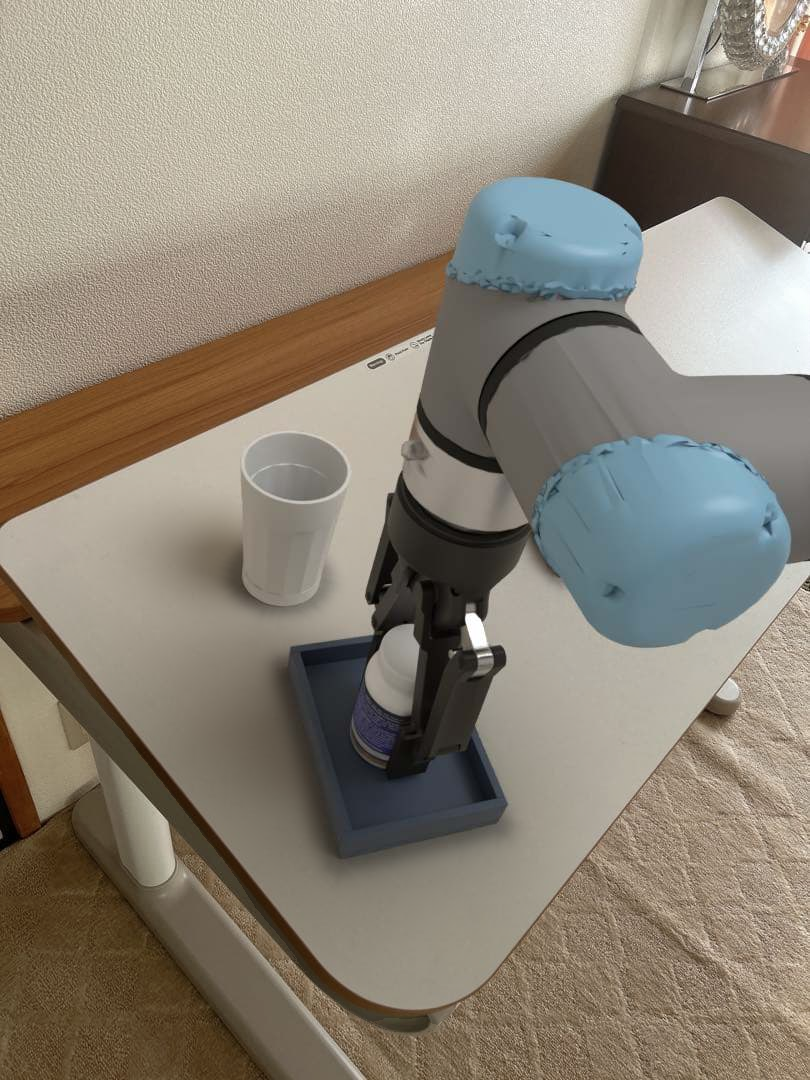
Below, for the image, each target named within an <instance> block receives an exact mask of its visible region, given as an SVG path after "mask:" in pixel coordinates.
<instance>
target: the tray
mask: <svg viewBox="0 0 810 1080" xmlns="http://www.w3.org/2000/svg"><path fill="white" fill-rule="evenodd" d="M373 635H374V634H369V635H361V636H354V637H348V638H347V637H346V638H340V639H333V640H326V641H319V642H312V643H311V642H310V643H306V644H298V645H291V646H290V647H289V653H288V659H287V664H286V665H287V666H286V669H287V673H288V676H289V679H290V683H291V687H292V690H293V694H294V697H295V701H296V705H297V709H298V712H299V715H300V716H299V717H300V720H301V723H302V727H303V730H304V734H305V737H306V740H307V744H308V748H309V752H310V755H311V759H312V762H313V765H314V769H315V773H316V776H317V781H318V784H319V787H320V791H321V794H322V798H323V801H324V805H325V808H326V812H327V816H328V819H329V822H330V826H331V830H332V833H333V836H334V840H335V844H336V848H337V851H338V855H339V858H340V859H341V860H342V859H347V858H351V857H356V856H359V855H364V854H368V853H373V852H377V851H381V850H386V849H390V848H395V847H399V846H403V845H408V844H412V843H415V842H420V841H425V840H428V839H433V838H438V837H442V836H446V835H450V834H455V833H459V832H463V831H468V830H471V829H476V828H480V827H485V826H489V825H493V824H497V823H499V821H500V820H501V818H502V816H503V814H504V813H505V811H506V809H507V807H508V805H509V803H508V801H507V798H506V796H505V793H504V791H503V788H502V787H501V783H500V782H499V779H498V777H497V775H496V772H495V770H494V767H493V765H492V763H491V760H490V758H489V755H488V753H487V751H486V748H485V746H484V744H483V742H482V739H481V737H480V735H479V732H478V730H477V728H476V726H475V727H474V730H473V732H472V735H471V738H470V740H469V743H468V746H467V748H466V750H465V751H461V752H456V753H451V754H446V755H441V756H436V757H435V759H434V760H432V761H430V763H429V765H428V768H427V770H426V773H421V774H416V775H411V776H406V777H401V778H397V779H392V780H388V778H387V775H386V772H385V769H383V768H380V767H377V766H374V765H372V764H370V763H369V762H367V761H366V760H365V759H364V758H362V757H361V756H360V755H359V753H358V752H357V751H356V749H355V747H354V745H353V743H352V741H351V736H350V724H351V720H352V716H353V712H354V709H355V705H356V702H357V699H358V695H359V692H358V691H359V688H360V684H361V680H362V676H363V673H364V669H365V665H366V661H367V657H368V654H369V650H370V646H371V642H372V638H373Z"/></svg>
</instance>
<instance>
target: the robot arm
mask: <svg viewBox="0 0 810 1080" xmlns="http://www.w3.org/2000/svg"><path fill="white" fill-rule="evenodd" d="M643 256H644V243H643V233H642V229H641V227H640V226H639V224H638V222H637V221H636V219H634V217H633V216H632V215H631V214H630V213H629V212H628V211H627V210H626V209H625V208H623V207H622V206H621V205H620V204H619V203H616V202H615V201H613V200H612V199H610V198H608V197H606V196H604V195H602V194H600V193H598V192H596V191H594V190H591V189H589V188H586V187H584V186H581V185H578V184H575V183H571V182H569V181H568V182H567V181H564V180H559V179H554V178H547V177H534V176H514V177H508V178H507V177H506V178H503V179H500V180H499V179H498V180H497V181H494V182H491V183H490V184H487V185H485V186H483V188H482V189H481V190H479V191H478V192H477V193H476V194H475V195H474V196H473V198H472V199H471V201H470V203H469V205H468V207H467V209H466V212H465V217H464V220H463V223H462V226H461V229H460V233H459V237H458V240H457V243H456V246H455V250H454V252H453V256H452V258H451V260H450V261H448V262H447V263H446V267H445V276H446V278H445V281H444V287H443V291H442V295H441V300H440V304H439V309H438V313H437V317H436V322H435V326H434V330H433V334H432V339H431V344H430V346H429V347H430V348H429V352H428V355H427V356H428V357H427V361H426V365H425V370H424V374H423V379H422V383H421V388H420V392H419V395H418V399H417V403H416V409H415V413H414V417H413V419H412V425H411V428H410V432H409V437H408V440H406V441H404V442H403V443H402V444H401V447H400V453H401V454H400V456H401V457H402V458H403V461H402V467H401V468H402V469H401V471H400V472H399V475H398V477H397V480H396V485H395V489H394V492H388V493H387V496H386V502H385V504H386V506H385V514H384V523H383V527H382V531H381V534H380V538H379V542H378V544H377V548H376V552H375V554H374V555H375V556H374V559H373V562H372V566H371V570H370V573H369V576H368V577H369V578H368V580H367V584H366V587H365V592H364V598H365V601H366V603H367V605H368V606H374V609H375V610H374V612H372V615H371V617H370V623H371V624H370V625H371V627H372V629H373V634H372V635H373V638H372V642H371V646H370V650H369V654H368V657H367V661H366V665H365V669H364V673H363V676H362V680H361V684H360V688H361V685H362V681H363V678H364V674H365V671H366V668H367V665H368V663H369V661H370V659H371V658H372V656H373V655H374V654H375V653H376V652H377V651H378V650H379V648H380V645H381V642H382V640H383V638H384V636H385V635H386V634H387V632H389V631H390V630H391V629H393V628H394V627H396V626H399V625H403V624H414V631H413V636H414V638H415V639H416V641H417V642H418V644H419V655H418V663H417V671H416V679H415V688H414V696H413V704H412V712H411V716H406V717H403V718H402V721H401V724H399V730H398V733H397V736H396V739H395V742H394V745H393V748H392V751H391V754H390V757H389V760H388V763H387V766H386V769H385V772H386V775H387V778H388V780H392V779H397V778H401V777H406V776H411V775H416V774H421V773H426V770H427V768H428V765H429V763H430V761H432V760H434V759H435V757H436V756H441V755H446V754H451V753H456V752H461V751H465V750H466V748H467V746H468V743H469V740H470V738H471V735H472V732H473V730H474V727H476V724H477V722H478V719H479V716H480V714H481V711H482V710H483V709H482V708H483V706H484V703H485V701H486V698H487V695H488V692H489V690H490V688H491V684H492V681H493V679H494V677H495V676H496V675H498V674H499V672H501V671H502V669H504V668H505V667H506V665H507V653H506V650H505V648H504V647H503V645H501V644H497V645H492V644H491V643H489V641H488V639H487V634H486V632H485V628H484V625H483V622H484V621H485V620H486V618H487V617H488V613H489V605H490V604H489V601H490V594H491V591H492V590H493V589H494V587H495V586H497V585H498V584H499V583H500V582H501V581H502V580H504V579H505V578H506V577H507V576H508V575H509V574H511V572H512V571H513V570H515V568H516V567H517V565H518V563H519V562H520V559H521V557H522V554H523V552H524V550H525V547H526V544H527V542H528V540H529V537H530V536H531V533H532V532H533V537H534V540H535V543H536V545H537V547H538V551H539V552H540V553H541V556H542V558H544V559H545V561H546V563H547V564H548V566H549V568H550V569H551V571H553V572H554V573H556V574H557V575H558V576H559V578H560V577H561V578H560V579H561V581H562V582H563V584H564V585H565V587H566V588H567V590H568V592H569V593H570V595H571V597H572V599H573V601H574V602H575V604H576V606H577V607H578V609H579V610H580V612H581V614H582V615H583V617H584V619H585V620H586V622H587V623H588V624H589V625H590V626H591V627H592V628H593V629H594V630H595V631H596V632H597V633H598V634H600V635H601V636H602V637H604V638H605V639H607V640H610V641H611V642H614V643H616V644H619V645H622V646H626V647H630V648H639V649H654V648H657V649H659V648H667V647H671V646H676V645H679V644H684V643H686V642H687V641H689V640H690V639H692V638H693V636H695V635H697V634H699V633H701V632H704V631H705V630H711V631H712V630H713V631H717V630H719V629H721V628H723V627H724V626H726V625H728V624H729V623H731V622H733V621H734V620H736V619H738V618H739V617H740V616H741V615H743V614H744V613H745V612H747V611H748V610H749V609H751V608H752V607H753V606H754V605H756V604H757V603H758V602H759V601H760V600H761V599H762V598H763V597H764V596H765V595H766V594H767V593H768V592H769V591H770V589H771V588H772V587H773V586H774V585H775V584H776V582H777V581H778V579H779V578H780V577H781V575H782V573H783V572H784V569H785V567H786V565H792V564H798V563H804V562H810V374H805V373H784V374H783V373H782V374H731V375H729V374H727V375H726V374H725V375H724V374H723V375H722V374H721V375H719V374H718V375H685V374H681V373H678V372H677V371H675V370H673V369H672V367H671V366H670V365H669V364H668V363H667V361H666V360H665V359H664V358H663V357H662V355H661V354H660V353H659V351H658V350H657V349H656V348H655V347H654V346H653V344H652V342H650V341H649V340H648V338H647V337H646V336H645V335H644V334H643V332H642V331H641V329H640V328H639V326H638V324H637V323H636V322H635V321H634V319H633V318H632V317H631V316H630V315H629V314H628V313H627V312H626V305H627V301H628V299H629V297H630V296H632V293H633V292H634V291H635V289H636V288H637V287H636V285H637V283H638V282H637V277H638V273H639V270H640V266H641V263H642V259H643ZM360 688H359V691H358V692H360Z"/></svg>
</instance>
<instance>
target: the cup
mask: <svg viewBox="0 0 810 1080" xmlns="http://www.w3.org/2000/svg"><path fill="white" fill-rule="evenodd" d="M239 462H240V463H239V467H240V491H241V493H240V495H241V501H242V503H241V504H242V505H241V507H242V554H243V555H242V556H243V557H242V558H243V559H242V571H241V572H242V573H241V578H242V583H243V587H244V588H245V589H246V591H247V592H248V593H249V594H250V595H251V596H252V597H253V598H254V599H256V600H258V601H260V602H262V603H264V604H267V605H269V606H274V607H293V606H297V605H301V604H303V603H306V602H308V600H310V599H311V598H312V597H314V595H316V593H317V591H318V590H319V587H320V584H321V580H322V579H321V578H322V573H323V570H324V567H325V563H326V560H327V557H328V553H329V551H330V547H331V543H332V541H333V537H334V534H335V530H336V526H337V524H338V521H339V517H340V514H341V510H342V507H343V504H344V501H345V497H346V494H347V492H348V490H349V489H348V488H349V485H350V482H351V480H352V479H351V478H352V466H351V463H350V460H349V458H348V457H347V456H346V454H345V453H344V452H343V450H342V449H341V448H339V446H338V445H336V444H335V443H333V442H332V441H330V440H328V439H326V438H325V437H323V436H320V435H317V434H314V433H311V432H307V431H300V430H276V431H272V432H268V433H265V434H262V435H260V436H258V437H256V438H254V439H253V440H252V441H250V442H249V443H248V444H247V445H246V446H245V448H244V449H243V451H242V453H241V456H240V461H239Z"/></svg>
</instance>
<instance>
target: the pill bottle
mask: <svg viewBox="0 0 810 1080" xmlns="http://www.w3.org/2000/svg"><path fill="white" fill-rule="evenodd" d="M413 631H414V624H403V625H399V626H396V627H394V628H393V629H391V630H390V631H389V632H387V634H386V635H385V636H384V638H383V640H382V642H381V645H380V648H379V650H378V651H377V652H376V653H375V654H374V655H373V656H372V658H371V659H370V661H369V663H368V665H367V668H366V671H365V674H364V678H363V681H362V685H361V688H360V692H359V695H358V699H357V702H356V705H355V709H354V712H353V716H352V720H351V724H350V736H351V741H352V743H353V745H354V747H355V749H356V751H357V752H358V753H359V755H360V756H361V757H362V758H364V759H365V760H366V761H367V762H369V763H370V764H372V765H374V766H377V767H380V768H383V769H386V766H387V763H388V760H389V757H390V754H391V751H392V748H393V745H394V742H395V739H396V736H397V733H398V730H399V724H401V721H402V718H403V717H406V716H411V712H412V704H413V696H414V688H415V679H416V671H417V663H418V655H419V644H418V642H417V641H416V639H415V638H414V636H413Z"/></svg>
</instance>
